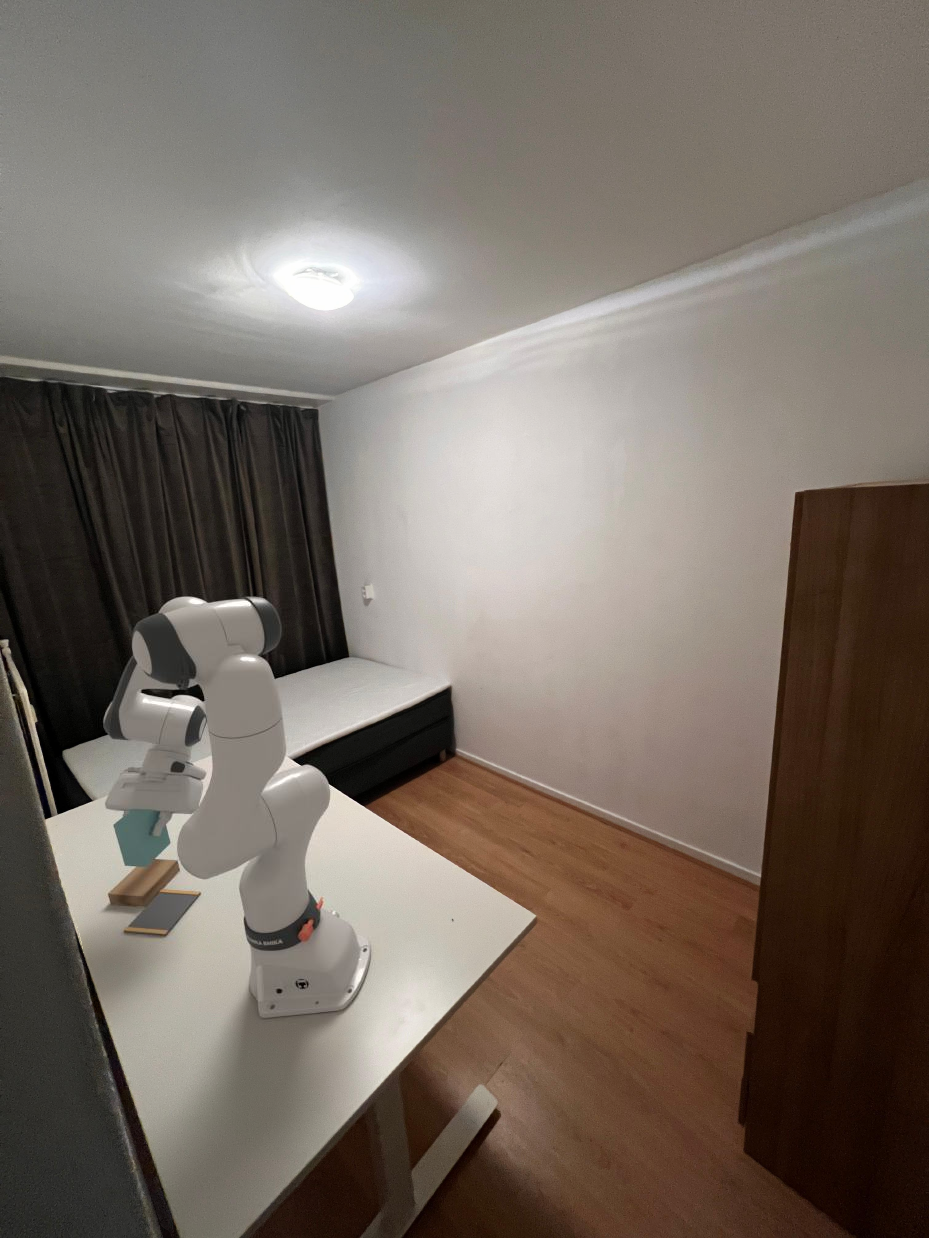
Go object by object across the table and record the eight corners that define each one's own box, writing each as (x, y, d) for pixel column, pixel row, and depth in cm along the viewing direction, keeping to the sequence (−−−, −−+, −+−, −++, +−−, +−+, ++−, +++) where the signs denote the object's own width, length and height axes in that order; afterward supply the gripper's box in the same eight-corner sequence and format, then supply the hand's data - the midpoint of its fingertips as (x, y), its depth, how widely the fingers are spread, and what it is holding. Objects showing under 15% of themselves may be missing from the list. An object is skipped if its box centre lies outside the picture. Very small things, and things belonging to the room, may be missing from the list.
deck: (180, 870, 119) (177, 860, 118) (145, 907, 109) (142, 896, 108) (147, 868, 121) (145, 858, 120) (110, 904, 110) (107, 893, 109)
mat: (200, 894, 111) (200, 891, 111) (166, 936, 101) (165, 933, 101) (162, 891, 113) (161, 888, 113) (124, 932, 102) (123, 930, 102)
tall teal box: (170, 843, 106) (160, 803, 104) (146, 867, 99) (134, 825, 97) (150, 842, 107) (140, 803, 104) (124, 865, 100) (113, 824, 98)
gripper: (113, 763, 107) (85, 830, 100) (196, 765, 104) (173, 835, 97) (133, 769, 112) (108, 834, 105) (213, 772, 109) (192, 838, 102)
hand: (140, 835), depth 101 cm, fingers closed on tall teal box, 5 cm apart
